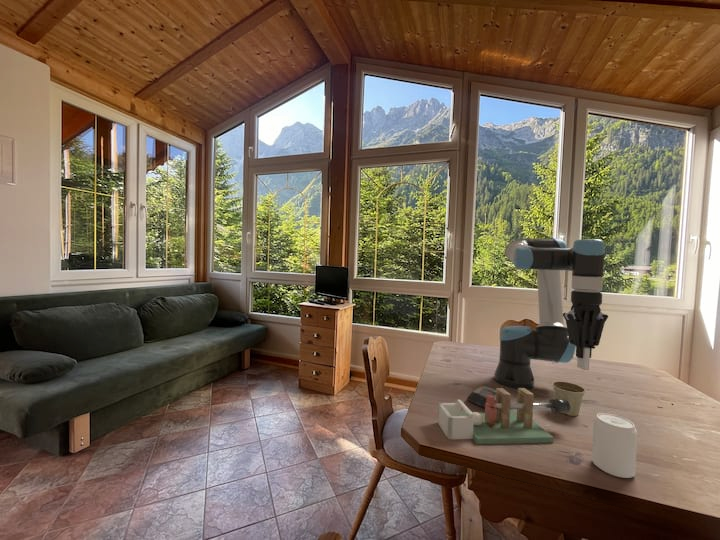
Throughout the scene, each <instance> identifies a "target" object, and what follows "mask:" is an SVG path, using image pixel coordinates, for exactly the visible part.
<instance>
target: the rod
mask: <svg viewBox="0 0 720 540" xmlns="http://www.w3.org/2000/svg"><path fill="white" fill-rule="evenodd" d="M486 402H487V403H485V408H484V413H485V421H486V422H487V423H488V424H489V425H490V426H495V409H502V403H495V397H494V396H492V395H487V401H486ZM510 409H511V410H517V409H524V403H517V402H510ZM535 409H536V410H538V409H539V410H542V409H544V410H545V409H548V410H549V409H550V410H551V411H552V412H553V413H561V412H569V411H570V404H569V402H568V401H567V400H566V399H556V398H551V399H549V401H548V402H533V410H535Z"/></svg>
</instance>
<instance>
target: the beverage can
mask: <svg viewBox="0 0 720 540" xmlns="http://www.w3.org/2000/svg"><path fill="white" fill-rule="evenodd" d="M592 427H593V430H592V450H591V451H592V453H591V460H592V463H593V464H594V465H595V466H596V467H597V468H598V469H600V470H602V471H603V472H604V473H607V474H608V475H611V476H613V477H619V478H624V479H630V478H633V477H635V476H636V465H637V446H638V431H637V429H636V426H635V423H634V422H633V421H631V420H629V419H627V418H625V417H623V416H620V415H617V414H613V413H607V412H598V413H597V414H596V416H595V417H594V419H593V426H592Z"/></svg>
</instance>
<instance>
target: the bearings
mask: <svg viewBox="0 0 720 540" xmlns="http://www.w3.org/2000/svg"><path fill="white" fill-rule="evenodd" d="M495 391H496V401H495V403H502V409H495V421H496V422H501V427H502V428H503V429H505V428H509V423H510V413H511V410H510V403H511V396H512V394H511V393H510V392H508V391H507V390H505V389H504V388H503V387H500V388H499V387H495ZM516 400H517V402H516V403H524V409H516V412H517V421H518V422H524V427H525V428H532V420H533V417H534V414H533V413H534V409H533V403H534V393H533V392H531V391H530V390H529V389H525V388H517V398H516Z"/></svg>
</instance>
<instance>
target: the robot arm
mask: <svg viewBox="0 0 720 540" xmlns="http://www.w3.org/2000/svg"><path fill="white" fill-rule="evenodd" d="M605 253H606V251H605V241H603V240H602V239H599V238H598V239H596V238H595V239H594V238H587V239H585V238H584V239H576V240H575V241H574V242H573V246H572V247H568V245H567V243H566V242H565V241H564V240H563V239H562V238H553V237H549V238H546V237H545V238H535V237H534V238H527V237H526V238H520V239H515V240H513V241H511V242H509V243H508V244H507V245H506V247H505V249H504V254H505V257H506V258H507V260H509V261H510V262H512V263H513V266H514V268H515V269H518V270H525V271H526V270H534V271H536V274H537V276H536V277H537V298H538V315H539V317H538V319H539V321H538V322H539V323H538V324H537V325H536V327H535V330H533V329H532V327H530V326H528V325H509V326H505V327H502V328H501V330H500V337H499V340H500V341H499V361H498V364H497V365H496V368H495V371H494V377H493V378H495V379H494V380H495V382H497V383H499V384H500V383H501V385H503V386H506V387H509V388H515V389H518V388H525V389H526V390H529V389H532V388H534V387H535V377H534V374H533V371H532V368H531V360H535V361H536V360H537V361H544V362H554V363H564V364H565V363H567V364H568V363H570V362H571V361H572V360H573V358H574V356H575V357H576V358H577V361H576V363H577V364H576V368H578V369H582V370H583V371H589V370H590V359H591V358H592V350H594V349H596V347H598V346H599V345H600V341H601V337H602V333H603V330H604V327H605V324H606V321H607V320H608V318H609V315H608V314H605V313H603V312H602V310H601V307H600V306H601V305H602V304H603V293H602V292H601V291H603V290H604V289H603V285H604V264H605V263H604V262H605ZM561 271H569V272H571V275H572V276H571V289H573V290H572V291H571V292H570V302H571V303H572V304H571V307H570V310H569V311H568V312H564V310H563V309H564V308H563V296H562V283H561V282H562V281H561ZM564 320H565V321H564ZM564 323H565V324H566V325H565V324H564Z"/></svg>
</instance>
